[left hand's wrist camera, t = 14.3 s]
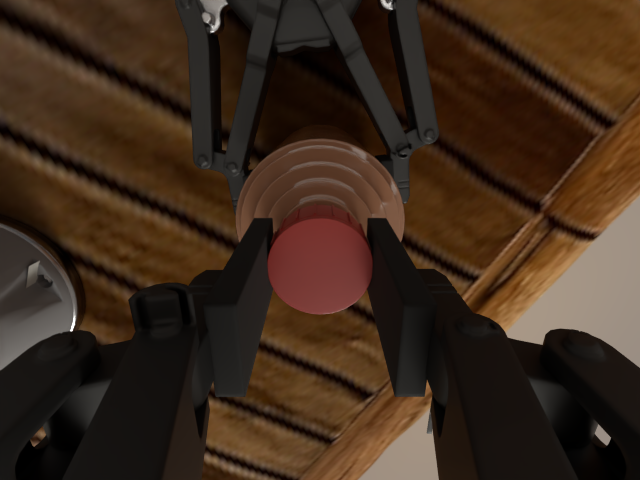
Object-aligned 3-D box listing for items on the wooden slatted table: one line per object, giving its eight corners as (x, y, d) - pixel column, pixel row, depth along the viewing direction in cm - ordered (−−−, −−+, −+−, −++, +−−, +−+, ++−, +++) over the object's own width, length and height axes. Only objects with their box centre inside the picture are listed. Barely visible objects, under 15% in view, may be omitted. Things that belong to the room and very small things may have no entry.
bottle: (386, 185, 30) (471, 286, 13) (309, 237, 32) (297, 385, 15) (331, 102, 28) (350, 95, 11) (252, 163, 30) (160, 240, 13)
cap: (386, 259, 14) (395, 279, 13) (309, 307, 15) (308, 332, 14) (332, 183, 13) (334, 194, 12) (252, 239, 14) (242, 257, 12)
